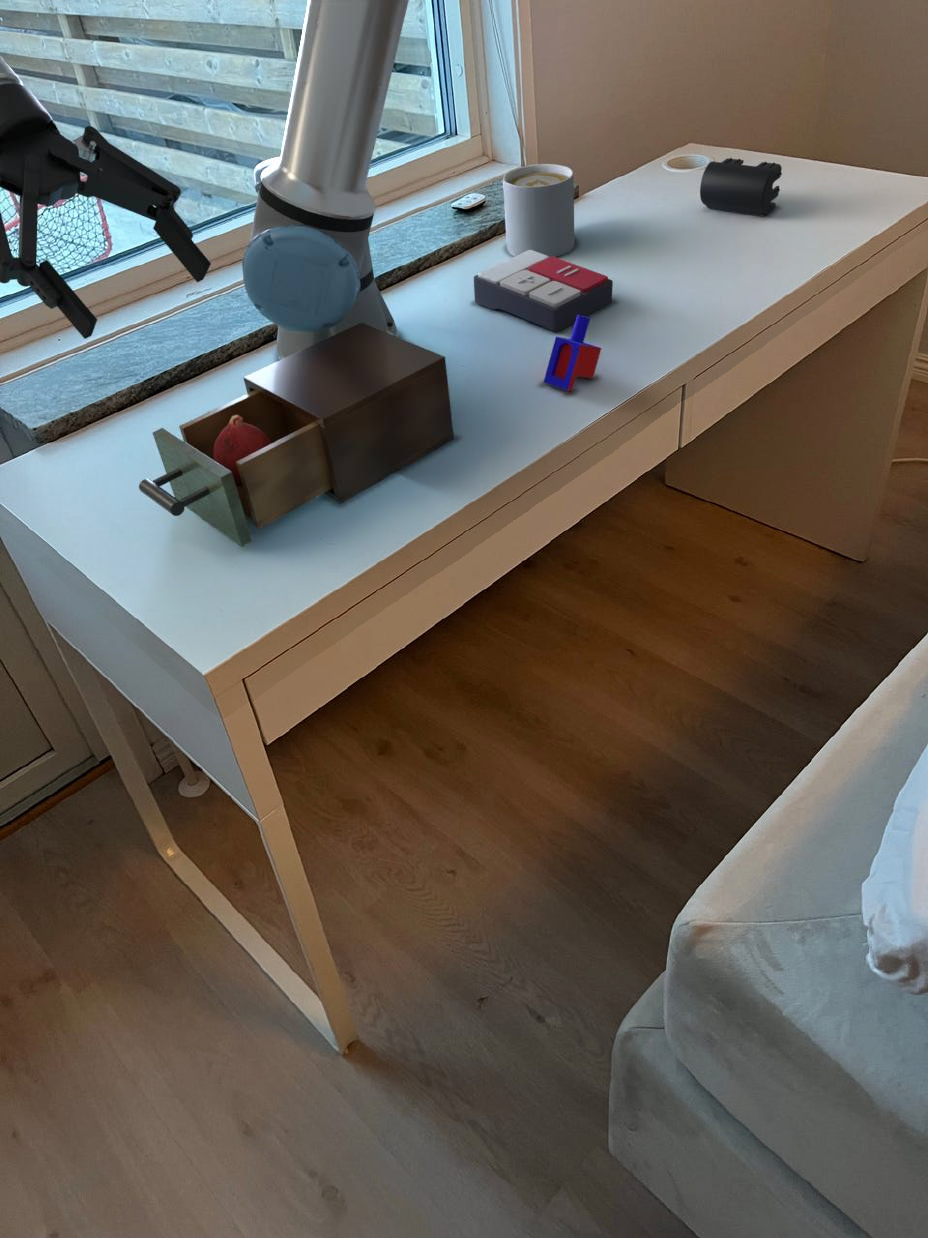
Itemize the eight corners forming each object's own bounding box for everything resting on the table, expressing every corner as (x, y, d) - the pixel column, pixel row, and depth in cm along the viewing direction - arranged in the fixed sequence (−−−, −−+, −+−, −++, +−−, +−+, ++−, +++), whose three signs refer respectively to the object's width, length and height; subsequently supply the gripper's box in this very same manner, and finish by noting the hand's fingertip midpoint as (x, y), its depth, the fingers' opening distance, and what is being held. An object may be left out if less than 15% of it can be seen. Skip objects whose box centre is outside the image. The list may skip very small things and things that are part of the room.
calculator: (556, 304, 118) (471, 270, 126) (555, 337, 120) (473, 302, 129) (614, 274, 123) (529, 243, 131) (613, 306, 126) (530, 274, 134)
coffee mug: (546, 264, 137) (544, 191, 130) (493, 251, 142) (488, 180, 135) (601, 232, 144) (601, 161, 137) (548, 221, 149) (546, 153, 142)
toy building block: (588, 392, 111) (608, 322, 108) (567, 390, 108) (587, 318, 105) (564, 384, 113) (584, 315, 110) (543, 382, 110) (562, 311, 107)
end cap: (697, 214, 146) (700, 167, 141) (717, 199, 150) (721, 152, 145) (760, 223, 141) (766, 174, 136) (780, 207, 145) (785, 159, 140)
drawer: (204, 568, 89) (179, 498, 83) (138, 518, 96) (112, 450, 91) (361, 479, 97) (348, 411, 92) (290, 439, 105) (274, 374, 99)
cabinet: (340, 504, 96) (322, 419, 90) (264, 457, 104) (242, 377, 98) (454, 439, 103) (445, 356, 97) (374, 400, 111) (361, 321, 105)
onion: (254, 510, 93) (234, 438, 88) (212, 495, 96) (189, 425, 90) (293, 479, 97) (276, 408, 91) (251, 466, 99) (232, 396, 94)
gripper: (-138, 119, 77) (44, 332, 79) (111, 46, 91) (258, 229, 94) (-137, 181, 83) (31, 377, 86) (95, 103, 97) (234, 273, 100)
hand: (150, 300), depth 90 cm, fingers open, 13 cm apart
